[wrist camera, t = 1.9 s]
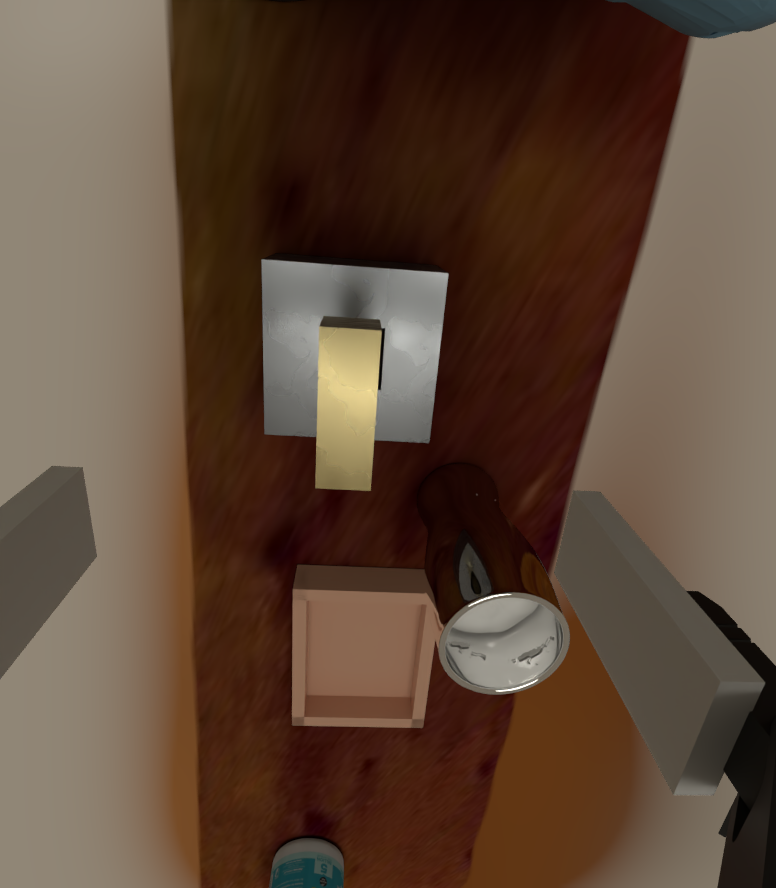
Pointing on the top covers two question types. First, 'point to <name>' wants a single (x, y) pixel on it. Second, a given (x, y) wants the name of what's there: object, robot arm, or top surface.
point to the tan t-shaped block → (347, 401)
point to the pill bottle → (307, 865)
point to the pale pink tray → (360, 647)
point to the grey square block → (355, 296)
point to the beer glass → (486, 587)
